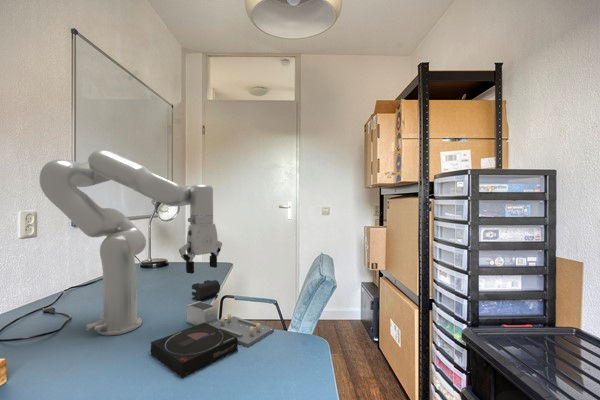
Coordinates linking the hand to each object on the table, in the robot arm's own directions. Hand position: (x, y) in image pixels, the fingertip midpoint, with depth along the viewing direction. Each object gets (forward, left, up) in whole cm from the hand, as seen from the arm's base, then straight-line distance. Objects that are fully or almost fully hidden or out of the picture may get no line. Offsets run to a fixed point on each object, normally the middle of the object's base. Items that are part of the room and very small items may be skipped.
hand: (202, 270), depth 100 cm
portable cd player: (-14, -14, -19) cm, 27 cm away
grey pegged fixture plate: (+2, -16, -18) cm, 24 cm away
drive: (0, 0, -18) cm, 18 cm away
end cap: (+18, +20, -19) cm, 33 cm away
